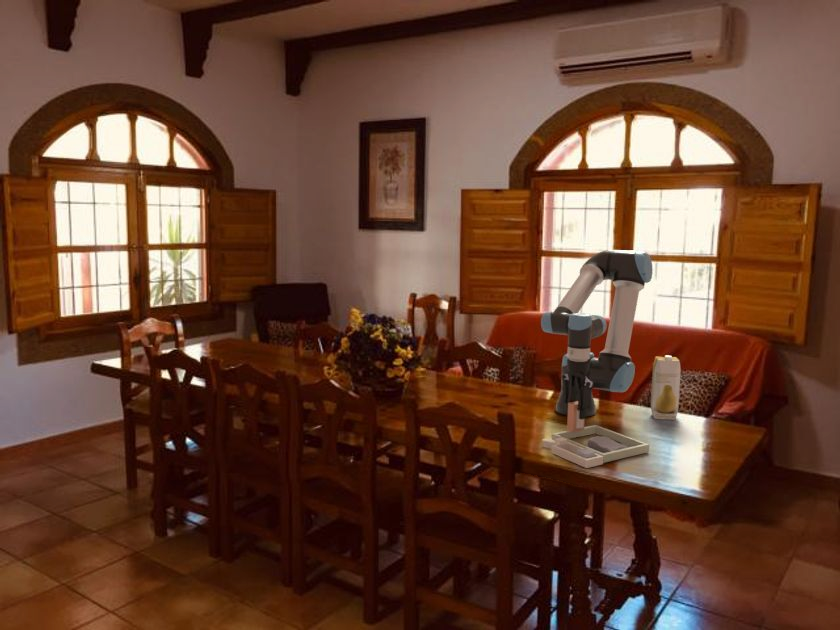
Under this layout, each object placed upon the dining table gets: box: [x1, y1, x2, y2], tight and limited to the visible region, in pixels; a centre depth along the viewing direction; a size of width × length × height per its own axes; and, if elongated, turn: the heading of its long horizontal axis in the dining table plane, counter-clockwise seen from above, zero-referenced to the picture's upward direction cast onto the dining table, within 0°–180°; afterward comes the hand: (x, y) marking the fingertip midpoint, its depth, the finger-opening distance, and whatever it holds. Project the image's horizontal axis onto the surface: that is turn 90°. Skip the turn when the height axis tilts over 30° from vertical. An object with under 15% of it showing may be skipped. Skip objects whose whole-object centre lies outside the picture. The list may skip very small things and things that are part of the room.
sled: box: [551, 438, 604, 469], centre depth 227 cm, size 17×7×4 cm, turn 31°
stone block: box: [586, 435, 630, 453], centre depth 233 cm, size 12×5×10 cm
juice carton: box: [650, 354, 682, 421], centre depth 271 cm, size 9×8×24 cm
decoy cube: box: [576, 448, 595, 459], centre depth 223 cm, size 4×4×4 cm
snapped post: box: [541, 438, 555, 449], centre depth 238 cm, size 5×2×2 cm, turn 50°
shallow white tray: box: [551, 401, 650, 464], centre depth 238 cm, size 25×20×12 cm
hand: (575, 426), depth 247 cm, fingers closed on shallow white tray, 3 cm apart
